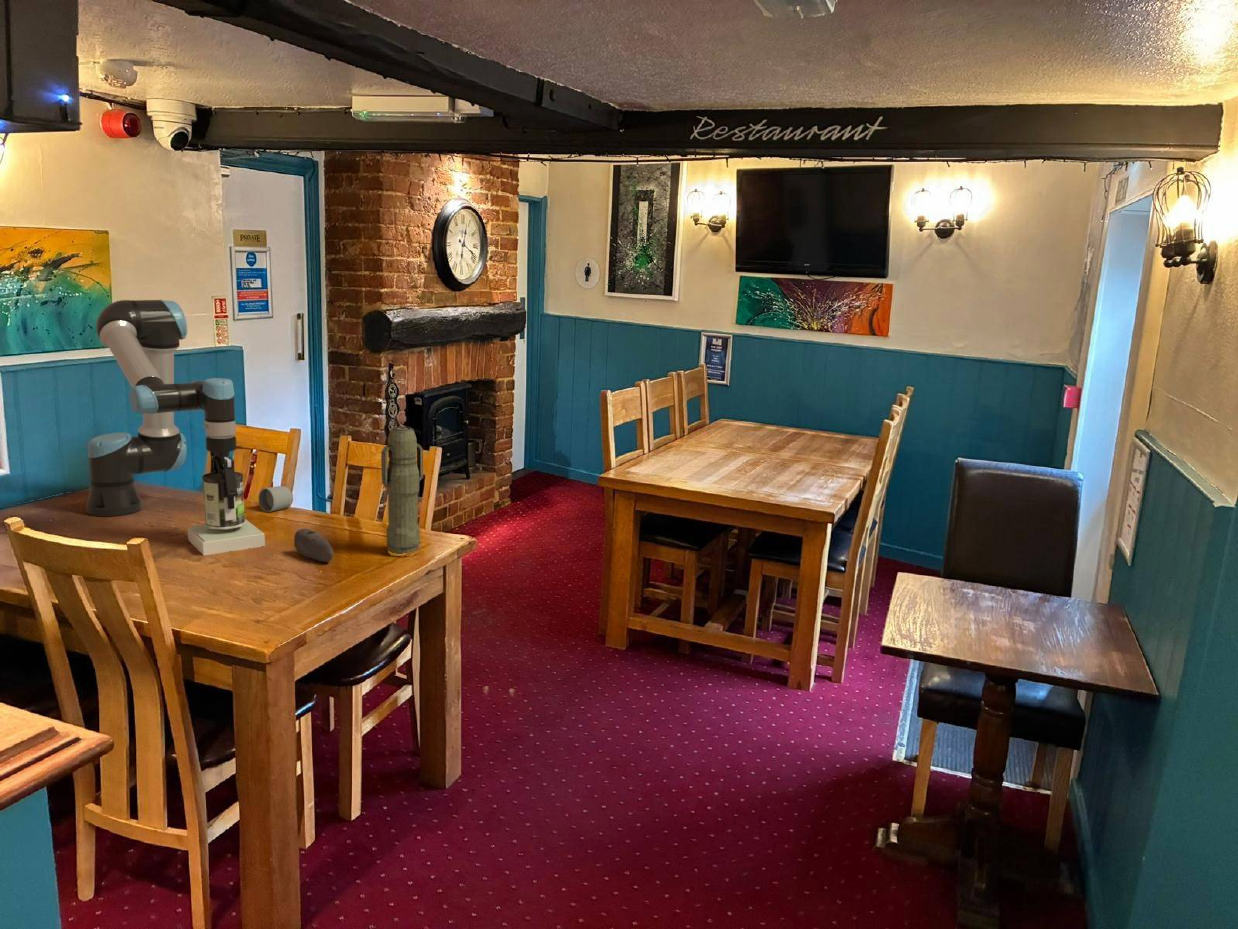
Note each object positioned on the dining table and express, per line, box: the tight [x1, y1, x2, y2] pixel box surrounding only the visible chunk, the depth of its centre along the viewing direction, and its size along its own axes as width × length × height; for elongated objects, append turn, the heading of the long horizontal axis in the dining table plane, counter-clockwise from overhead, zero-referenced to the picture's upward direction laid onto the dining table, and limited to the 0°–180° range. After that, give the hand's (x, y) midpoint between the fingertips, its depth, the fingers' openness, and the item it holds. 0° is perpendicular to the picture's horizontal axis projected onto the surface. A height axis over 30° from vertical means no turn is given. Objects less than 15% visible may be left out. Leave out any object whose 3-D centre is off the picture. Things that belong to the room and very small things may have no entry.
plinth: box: [187, 518, 266, 556], centre depth 252 cm, size 16×16×4 cm
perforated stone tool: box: [293, 528, 334, 563], centre depth 243 cm, size 15×5×7 cm, turn 48°
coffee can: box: [201, 471, 246, 530], centre depth 250 cm, size 10×10×14 cm
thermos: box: [380, 426, 424, 554], centre depth 248 cm, size 9×12×35 cm
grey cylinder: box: [258, 485, 294, 513], centre depth 288 cm, size 11×8×8 cm
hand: (224, 514), depth 251 cm, fingers closed on coffee can, 10 cm apart
